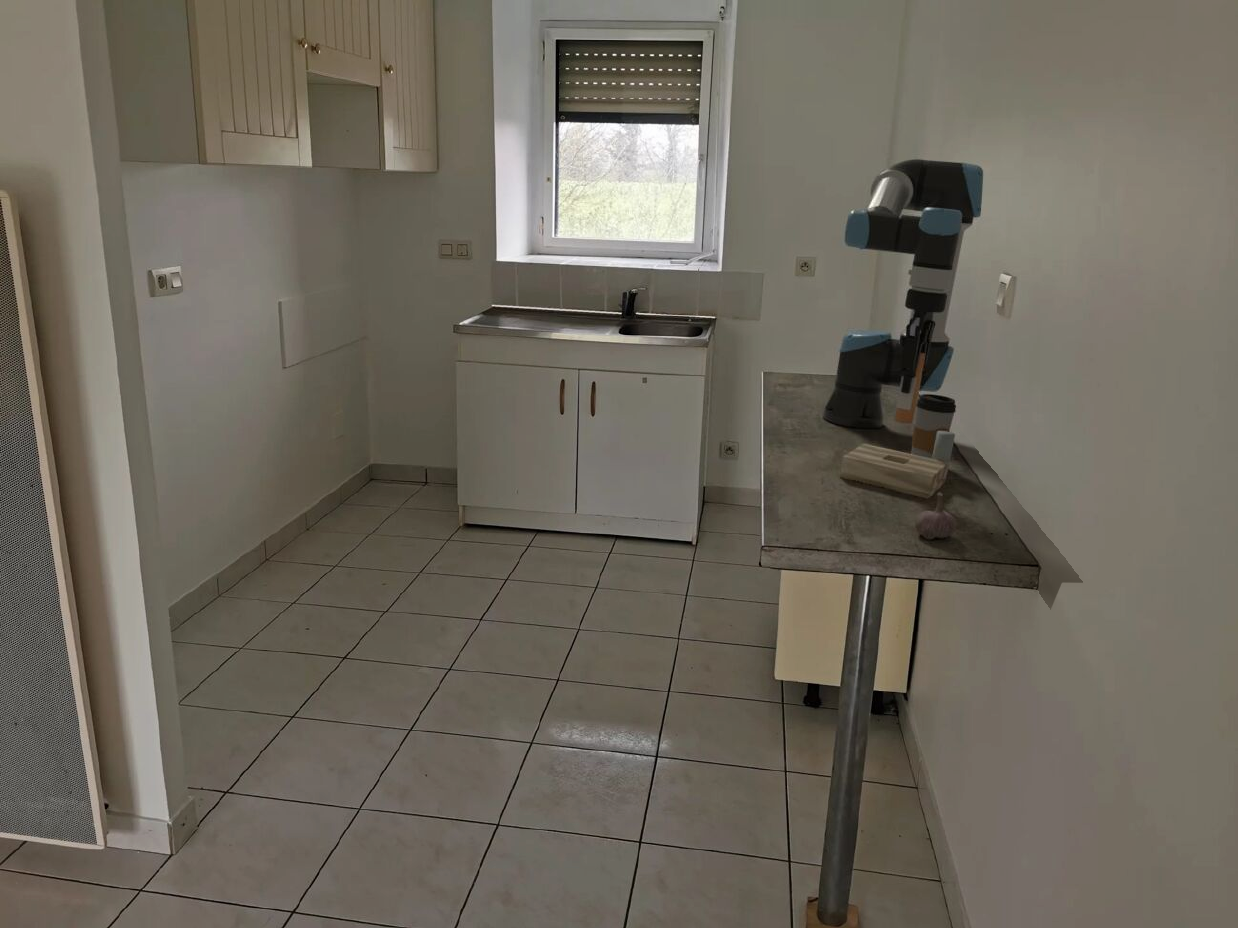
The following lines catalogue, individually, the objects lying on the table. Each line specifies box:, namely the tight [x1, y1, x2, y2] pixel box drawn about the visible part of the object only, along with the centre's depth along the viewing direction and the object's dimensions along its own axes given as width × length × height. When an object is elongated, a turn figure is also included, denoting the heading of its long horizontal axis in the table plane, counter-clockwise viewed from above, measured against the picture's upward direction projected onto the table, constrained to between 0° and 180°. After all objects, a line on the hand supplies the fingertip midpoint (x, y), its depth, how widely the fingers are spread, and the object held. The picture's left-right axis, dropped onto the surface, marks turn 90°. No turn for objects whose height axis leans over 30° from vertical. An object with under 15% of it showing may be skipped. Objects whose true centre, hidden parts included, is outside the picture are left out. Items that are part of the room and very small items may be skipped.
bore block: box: [839, 443, 950, 500], centre depth 197 cm, size 14×18×4 cm
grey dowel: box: [932, 431, 956, 482], centre depth 201 cm, size 4×4×10 cm
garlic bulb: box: [914, 492, 958, 540], centre depth 166 cm, size 8×7×8 cm
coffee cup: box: [910, 393, 957, 459], centre depth 211 cm, size 8×8×15 cm
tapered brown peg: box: [893, 353, 925, 424], centre depth 192 cm, size 4×4×14 cm
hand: (906, 406), depth 193 cm, fingers closed on tapered brown peg, 3 cm apart
